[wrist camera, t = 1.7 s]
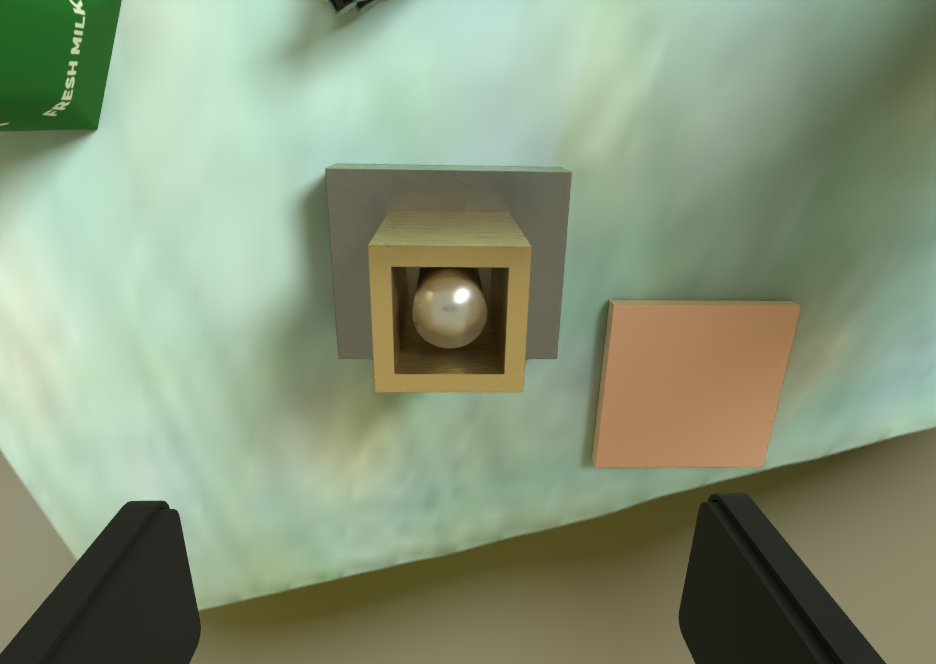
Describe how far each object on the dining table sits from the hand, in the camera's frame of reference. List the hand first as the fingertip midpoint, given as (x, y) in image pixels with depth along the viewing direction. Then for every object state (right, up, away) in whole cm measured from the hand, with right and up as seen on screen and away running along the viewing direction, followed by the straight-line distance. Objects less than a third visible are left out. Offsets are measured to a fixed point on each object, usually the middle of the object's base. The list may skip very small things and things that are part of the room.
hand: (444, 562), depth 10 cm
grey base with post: (-1, +8, +22) cm, 24 cm away
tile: (+14, +1, +25) cm, 29 cm away
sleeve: (-1, +7, +19) cm, 21 cm away
